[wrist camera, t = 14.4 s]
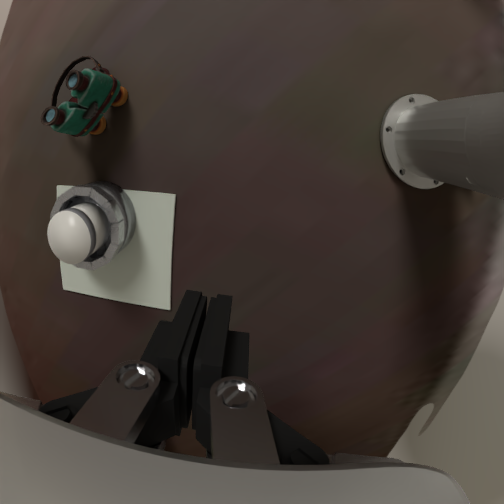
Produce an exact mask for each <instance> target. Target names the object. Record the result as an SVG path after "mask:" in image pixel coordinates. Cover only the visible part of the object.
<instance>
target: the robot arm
mask: <svg viewBox="0 0 504 504" xmlns="http://www.w3.org/2000/svg"><path fill="white" fill-rule="evenodd" d="M409 100H410V102H409ZM386 128H387V129H388V132H387V131H386ZM380 141H381V148H382V152H383V155H384V158H385V160H386V162H387V164H388V166H389V168H390V169H391V170H392V172H393V173H394V174H395V175H396V176H397V177H398V178H399V179H400V180H401V181H403V182H404V183H406V184H407V185H410V186H413V187H416V188H420V189H431V188H436V187H438V186H440V185H442V184H443V183H448V184H451V185H455V186H459V187H462V188H466V189H469V190H473V191H476V192H480V193H483V194H486V195H490V196H493V197H497V198H500V199H503V200H504V92H499V93H491V94H483V95H476V96H468V97H462V98H455V99H449V100H443V101H437V100H436V99H434V98H432V97H430V96H426V95H423V94H412V95H407V96H404V97H401V98H400V99H398V100H396V101H395V102H394V103H393V104H392V105H391V106H390V107H389V108H388V110H387V111H386V113H385V115H384V118H383V120H382V124H381V130H380ZM400 170H401V172H399V171H400ZM231 304H232V296H227V295H220V294H218V295H217V298H213V297H211V300H210V304H209V307H208V311H207V315H206V307H207V297H206V296H202V292H198V291H191V290H187V291H186V293H185V295H184V297H183V299H182V302H181V304H180V306H179V308H178V311H177V313H176V315H175V317H174V320H173V322H168V321H162V320H161V321H160V322H159V323H158V325H157V327H156V329H155V331H154V333H153V335H152V337H151V339H150V341H149V343H148V345H147V347H146V349H145V351H144V353H143V355H142V357H141V360H140V361H139V360H131V361H126V362H123V363H121V364H119V365H117V366H116V367H115V368H114V369H113V370H112V371H111V372H110V374H109V375H108V376H107V377H106V378H105V380H104V381H103V382H102V383H101V385H100V386H99V387H96V388H93V389H90V390H87V391H83V392H80V393H77V394H73V395H70V396H66V397H63V398H59V399H56V400H52V401H50V402H48V403H46V404H45V405H43V404H42V402H41V401H39V400H34V399H29V398H25V397H20V396H16V395H12V394H8V393H4V392H0V504H471V503H470V501H469V499H468V498H467V496H466V494H465V493H464V491H463V489H462V488H461V486H460V485H459V484H458V482H457V481H456V480H455V479H454V478H453V477H452V476H451V475H450V474H448V473H447V472H445V471H443V470H440V469H437V468H434V467H430V466H425V465H419V464H413V463H404V462H403V461H401V460H399V459H394V458H384V457H372V456H361V455H352V454H344V453H337V452H336V453H335V454H334V455H327V454H326V453H325V452H324V451H323V450H322V449H321V448H320V447H318V446H317V445H315V444H314V443H312V442H311V441H309V440H308V439H306V438H305V437H304V436H302V435H301V434H299V433H298V432H296V431H295V430H294V429H292V428H291V427H289V426H288V425H287V424H285V423H284V422H283V421H281V420H280V419H279V418H277V417H276V416H275V415H273V414H272V413H271V412H269V411H268V410H267V409H266V405H265V401H264V397H263V393H262V391H261V389H260V387H259V386H258V385H257V384H256V383H254V382H253V381H251V380H249V379H248V361H249V333H245V332H237V331H229V321H230V313H231ZM191 410H192V429H194V430H196V439H197V440H198V441H199V442H200V443H201V444H202V445H203V446H204V447H205V448H206V458H202V457H195V456H189V455H183V454H178V453H172V452H167V451H163V450H164V448H165V445H166V439H168V438H170V437H172V436H175V435H177V436H180V433H181V429H182V427H183V428H188V424H189V420H190V415H191Z"/></svg>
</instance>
